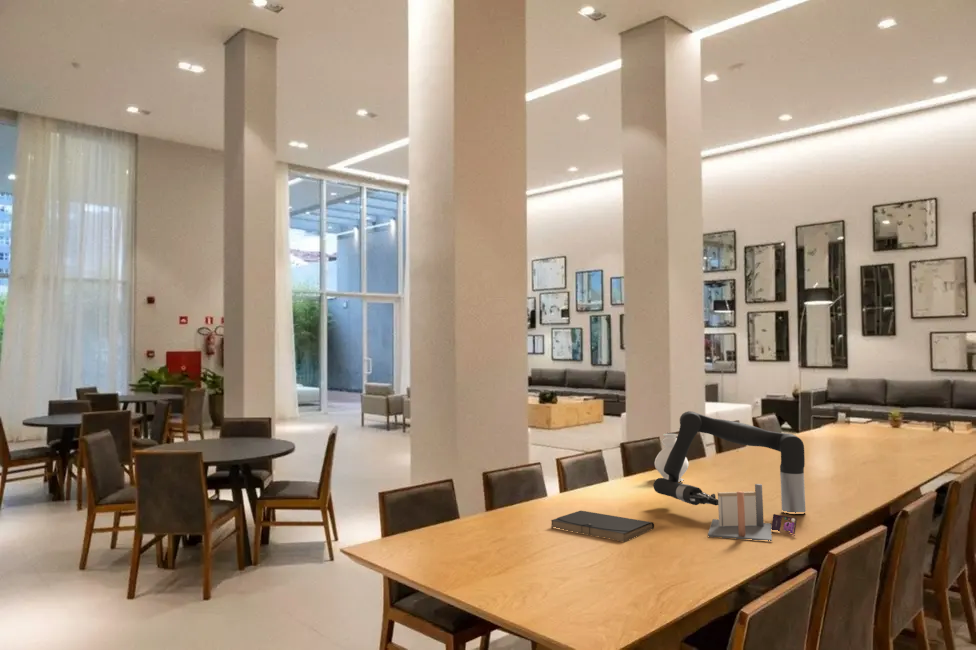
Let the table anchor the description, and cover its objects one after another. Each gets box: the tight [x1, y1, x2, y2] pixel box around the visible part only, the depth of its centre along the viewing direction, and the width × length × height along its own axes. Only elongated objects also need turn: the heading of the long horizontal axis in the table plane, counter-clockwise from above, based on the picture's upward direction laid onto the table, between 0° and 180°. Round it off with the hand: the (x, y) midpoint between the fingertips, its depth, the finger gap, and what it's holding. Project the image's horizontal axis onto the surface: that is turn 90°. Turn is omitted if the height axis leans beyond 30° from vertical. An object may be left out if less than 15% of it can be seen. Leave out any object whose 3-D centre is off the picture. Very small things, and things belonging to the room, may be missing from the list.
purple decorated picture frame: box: [771, 513, 797, 535], centre depth 247 cm, size 7×5×9 cm
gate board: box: [707, 483, 773, 542], centre depth 250 cm, size 24×22×17 cm
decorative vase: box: [654, 433, 689, 483], centre depth 352 cm, size 18×18×25 cm
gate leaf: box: [717, 490, 756, 526], centre depth 253 cm, size 14×2×13 cm, turn 92°
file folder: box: [550, 510, 655, 543], centre depth 258 cm, size 33×4×24 cm
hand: (717, 502), depth 259 cm, fingers closed
